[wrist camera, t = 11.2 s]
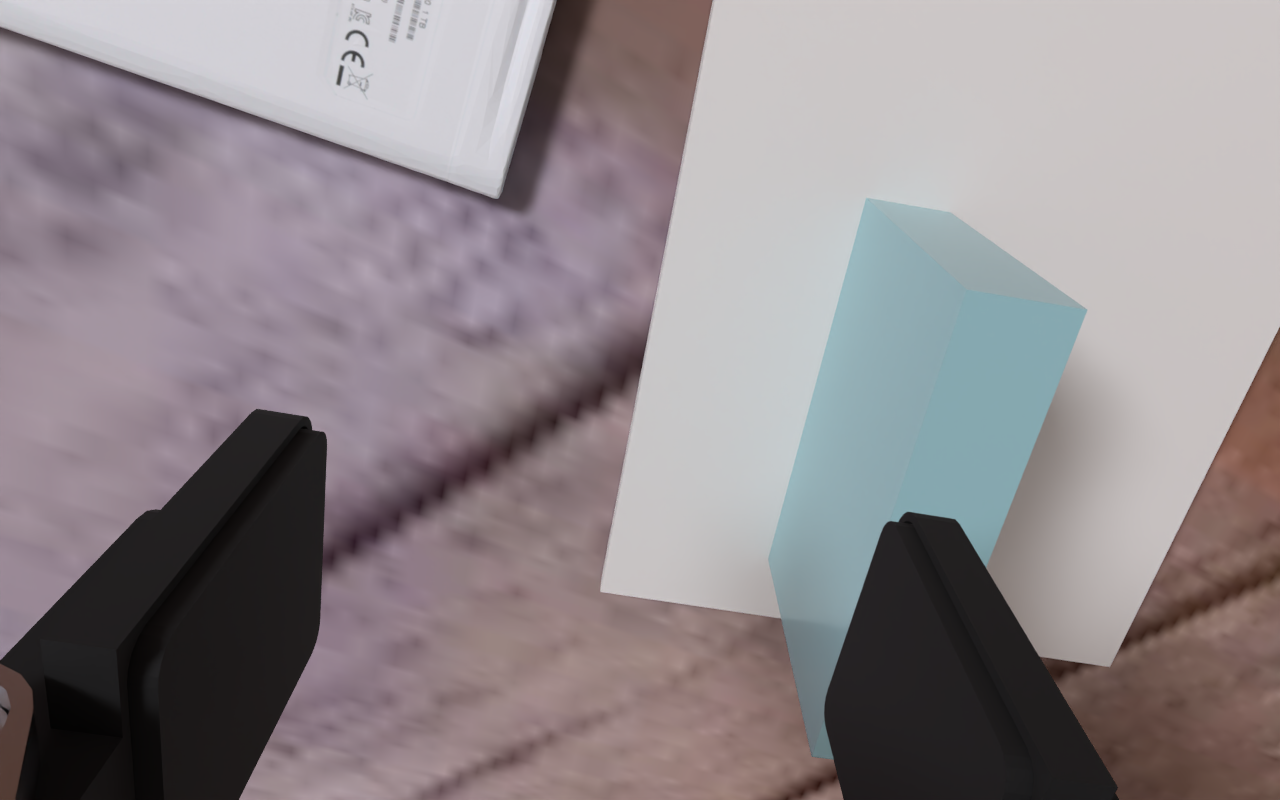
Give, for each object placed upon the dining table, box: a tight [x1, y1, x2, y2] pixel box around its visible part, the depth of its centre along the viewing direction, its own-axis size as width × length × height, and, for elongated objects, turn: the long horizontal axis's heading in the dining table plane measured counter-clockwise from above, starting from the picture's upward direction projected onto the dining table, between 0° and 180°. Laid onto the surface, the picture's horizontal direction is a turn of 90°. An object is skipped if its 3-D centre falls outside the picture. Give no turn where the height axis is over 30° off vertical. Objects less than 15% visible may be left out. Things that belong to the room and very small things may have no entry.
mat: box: [600, 0, 1280, 667], centre depth 22 cm, size 18×15×1 cm
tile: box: [768, 198, 1087, 760], centre depth 19 cm, size 10×2×7 cm, turn 170°
